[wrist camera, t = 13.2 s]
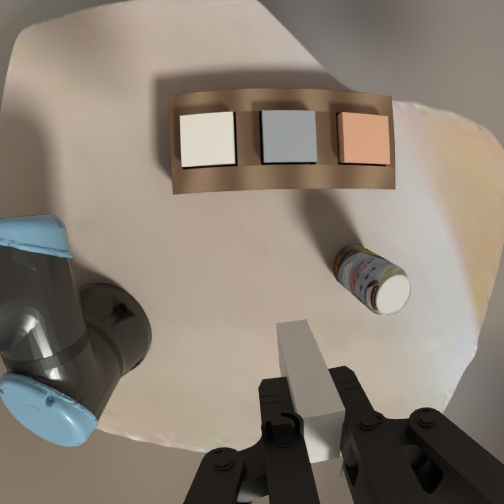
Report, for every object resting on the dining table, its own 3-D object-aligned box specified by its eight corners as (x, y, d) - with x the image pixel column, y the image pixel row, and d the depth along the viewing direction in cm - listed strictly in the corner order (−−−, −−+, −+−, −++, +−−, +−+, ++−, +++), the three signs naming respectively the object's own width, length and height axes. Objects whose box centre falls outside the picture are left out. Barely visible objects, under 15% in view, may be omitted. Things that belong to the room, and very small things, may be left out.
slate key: (262, 163, 36) (264, 162, 32) (260, 116, 35) (262, 110, 31) (309, 162, 36) (316, 161, 32) (308, 116, 35) (314, 110, 31)
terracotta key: (334, 162, 36) (344, 162, 32) (332, 117, 35) (342, 112, 31) (376, 164, 36) (390, 164, 32) (375, 120, 35) (387, 116, 31)
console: (181, 191, 40) (172, 194, 35) (178, 103, 37) (169, 95, 32) (379, 186, 40) (395, 189, 35) (376, 103, 37) (391, 96, 32)
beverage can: (330, 243, 42) (360, 270, 30) (378, 241, 42) (420, 266, 30) (329, 286, 43) (355, 325, 32) (375, 282, 43) (412, 317, 32)
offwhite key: (188, 167, 36) (181, 166, 32) (186, 121, 35) (179, 115, 31) (235, 164, 36) (234, 163, 32) (234, 117, 35) (232, 111, 31)
